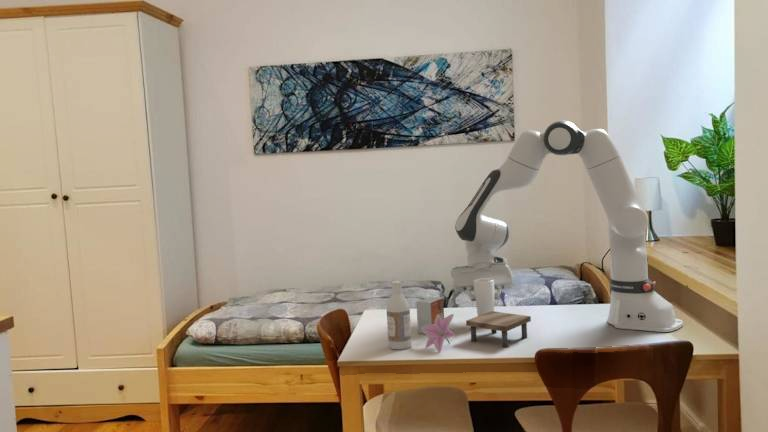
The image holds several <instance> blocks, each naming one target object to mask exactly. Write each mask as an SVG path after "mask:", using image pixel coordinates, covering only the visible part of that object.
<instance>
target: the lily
mask: <svg viewBox="0 0 768 432" xmlns="http://www.w3.org/2000/svg"><path fill="white" fill-rule="evenodd" d="M454 315H455V314H454V313H451V314H449V315H447V316H444V319H443V320H442V319H441V317H440V315H439V314H438V315H437V316H436V319H435V324H430V325H427V326H424V327H422V331H423V332H424V333H425V335H426V336H428V337H429V338H428V339H427V342H426V344H425V349H428V348H430V347H431V346H432V345H433V346H434V348H435V349H436V351H437V353H441V352H442V348H443V344H444V341H445V339H446V340H447V342H448V344H449V345H451V343H450V341H449V338H453V337H455V336H456V334H455V333H454V332H453V331H452V330H450V328H449V327H450V325H451V323H452V320H453V318H454Z"/></svg>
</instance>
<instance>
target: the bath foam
mask: <svg viewBox="0 0 768 432" xmlns="http://www.w3.org/2000/svg"><path fill="white" fill-rule="evenodd" d="M402 285H403V284H402V281H400V280H393V281H392V282H391V296H390V297H389V299H388V301H387V304H386V319H387V320H386V322H387V324H386V325H387V339H388V347H389V349H391V350H396V351H399V350H407V349H409V348H411V347H412V327H411V325H412V324H411V311H410V310H411V309H410V304H409V302H408V300H407V298H406V296H405V295H404V294H403V288H402V287H403V286H402Z"/></svg>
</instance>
